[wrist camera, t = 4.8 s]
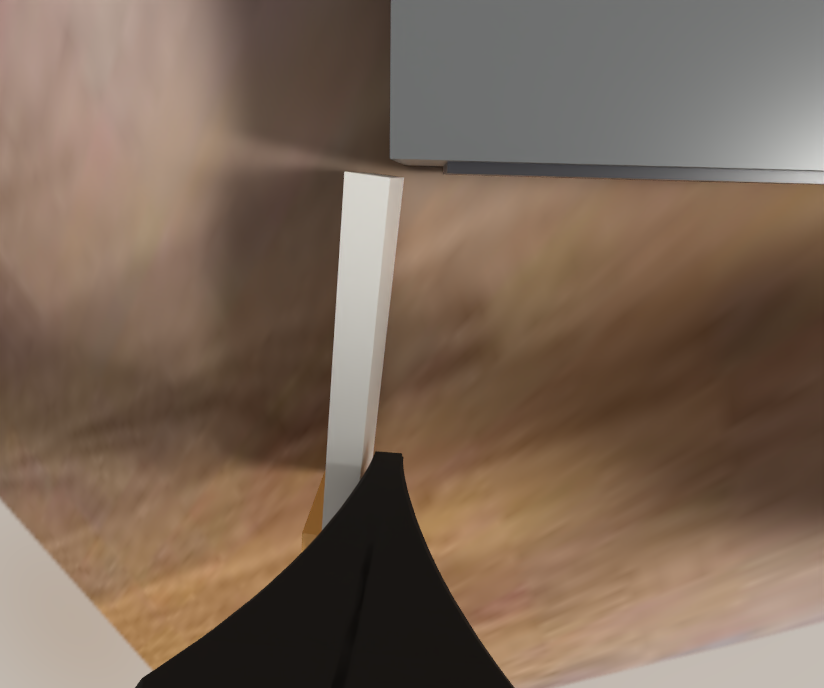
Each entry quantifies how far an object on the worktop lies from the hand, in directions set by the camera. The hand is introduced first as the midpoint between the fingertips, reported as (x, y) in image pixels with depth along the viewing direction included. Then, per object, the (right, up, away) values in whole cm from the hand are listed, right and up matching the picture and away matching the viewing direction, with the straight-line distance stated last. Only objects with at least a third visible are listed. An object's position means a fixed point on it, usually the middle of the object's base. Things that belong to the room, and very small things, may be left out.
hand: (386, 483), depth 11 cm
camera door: (-1, +3, +2) cm, 4 cm away
